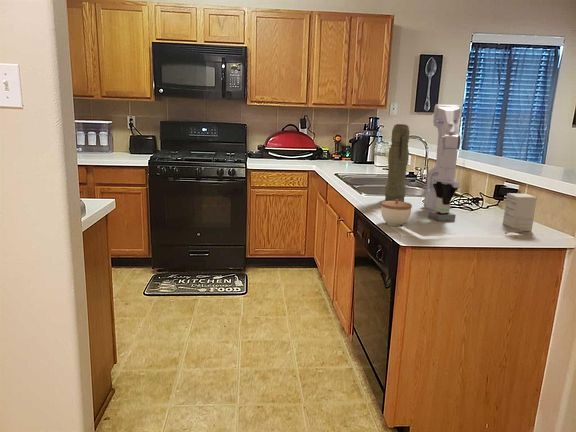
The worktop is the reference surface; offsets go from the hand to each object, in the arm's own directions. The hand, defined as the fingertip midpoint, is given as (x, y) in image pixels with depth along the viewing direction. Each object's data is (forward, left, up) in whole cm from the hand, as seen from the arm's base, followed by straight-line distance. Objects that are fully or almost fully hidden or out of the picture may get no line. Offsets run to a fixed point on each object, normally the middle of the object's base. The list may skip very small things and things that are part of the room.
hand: (443, 203), depth 167 cm
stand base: (0, 0, -7) cm, 7 cm away
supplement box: (+13, +23, -7) cm, 27 cm away
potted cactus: (-39, +1, -7) cm, 40 cm away
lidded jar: (+1, -20, -7) cm, 21 cm away
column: (0, 0, -3) cm, 3 cm away
